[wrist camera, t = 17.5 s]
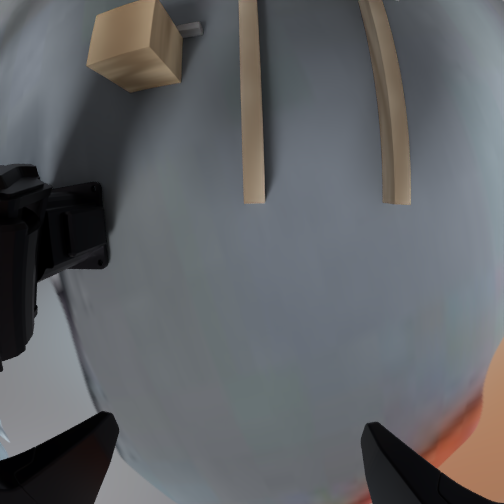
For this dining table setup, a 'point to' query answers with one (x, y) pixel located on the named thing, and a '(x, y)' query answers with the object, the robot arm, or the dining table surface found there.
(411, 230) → the dining table surface
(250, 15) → the channel
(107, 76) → the scraper
